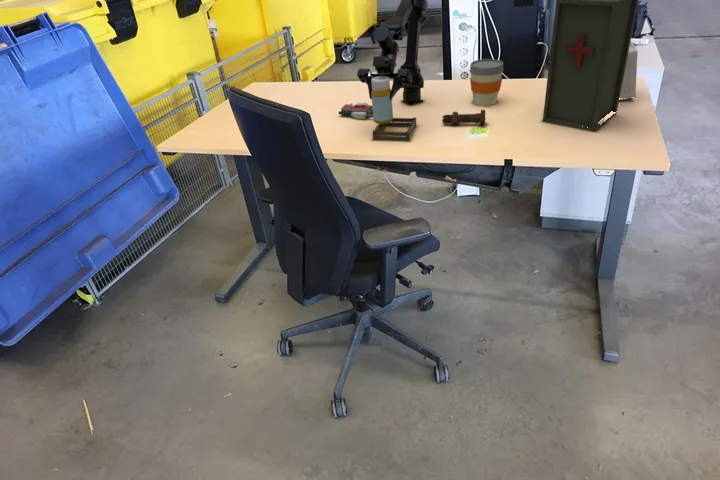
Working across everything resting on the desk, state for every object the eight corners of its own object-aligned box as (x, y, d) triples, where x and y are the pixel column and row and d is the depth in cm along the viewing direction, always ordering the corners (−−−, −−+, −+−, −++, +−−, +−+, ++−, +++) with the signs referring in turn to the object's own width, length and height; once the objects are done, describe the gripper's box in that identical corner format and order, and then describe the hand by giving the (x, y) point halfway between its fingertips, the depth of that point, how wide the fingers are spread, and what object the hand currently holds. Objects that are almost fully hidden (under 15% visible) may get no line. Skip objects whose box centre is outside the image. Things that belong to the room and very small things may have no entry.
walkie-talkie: (336, 118, 204) (384, 121, 197) (335, 107, 201) (383, 109, 194) (344, 110, 210) (391, 112, 204) (343, 99, 208) (390, 102, 201)
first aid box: (616, 114, 183) (640, -10, 161) (594, 131, 172) (617, 1, 150) (565, 105, 194) (581, -12, 172) (542, 121, 183) (556, -1, 161)
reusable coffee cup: (499, 108, 198) (502, 68, 190) (466, 107, 202) (467, 68, 193) (502, 96, 208) (505, 58, 199) (471, 96, 211) (472, 58, 203)
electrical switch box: (583, 95, 207) (583, 45, 196) (624, 88, 203) (625, 36, 193) (592, 108, 195) (592, 55, 184) (635, 101, 191) (637, 46, 181)
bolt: (443, 128, 191) (485, 127, 187) (441, 126, 186) (484, 125, 182) (443, 112, 190) (485, 110, 186) (442, 109, 185) (485, 108, 181)
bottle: (385, 125, 180) (383, 83, 172) (369, 122, 184) (366, 80, 175) (396, 118, 185) (394, 76, 176) (380, 115, 188) (377, 74, 180)
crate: (382, 125, 194) (381, 117, 192) (416, 125, 190) (416, 117, 188) (373, 140, 183) (372, 131, 181) (409, 141, 179) (408, 132, 177)
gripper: (356, 44, 176) (347, 87, 174) (408, 44, 170) (400, 89, 168) (365, 61, 187) (358, 102, 184) (415, 62, 180) (408, 104, 178)
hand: (380, 99), depth 178 cm, fingers closed on bottle, 7 cm apart
